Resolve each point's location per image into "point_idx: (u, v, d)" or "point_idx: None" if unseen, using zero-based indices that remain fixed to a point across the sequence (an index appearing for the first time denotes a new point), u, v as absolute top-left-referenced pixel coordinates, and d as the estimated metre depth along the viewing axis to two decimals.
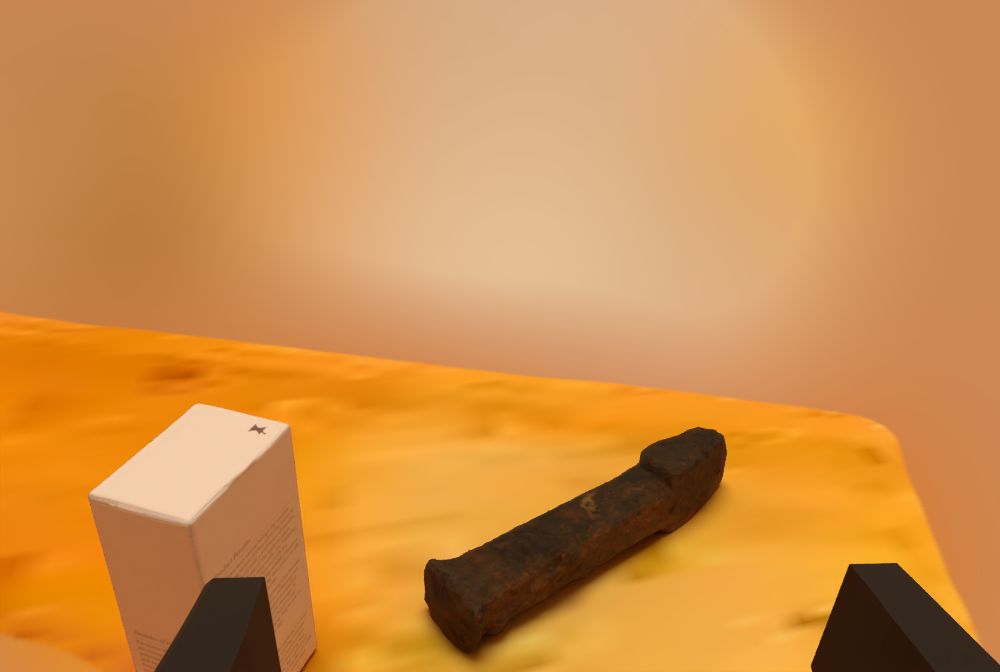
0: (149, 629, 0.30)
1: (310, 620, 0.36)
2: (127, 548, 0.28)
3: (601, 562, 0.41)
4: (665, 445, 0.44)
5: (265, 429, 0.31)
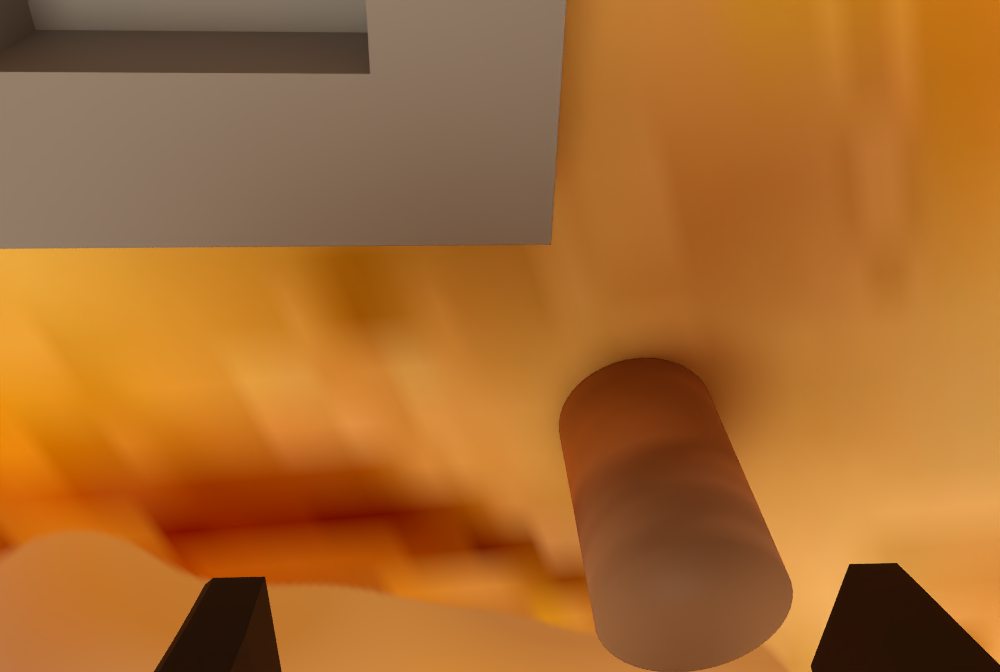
0: None
1: None
2: None
3: None
4: None
5: None
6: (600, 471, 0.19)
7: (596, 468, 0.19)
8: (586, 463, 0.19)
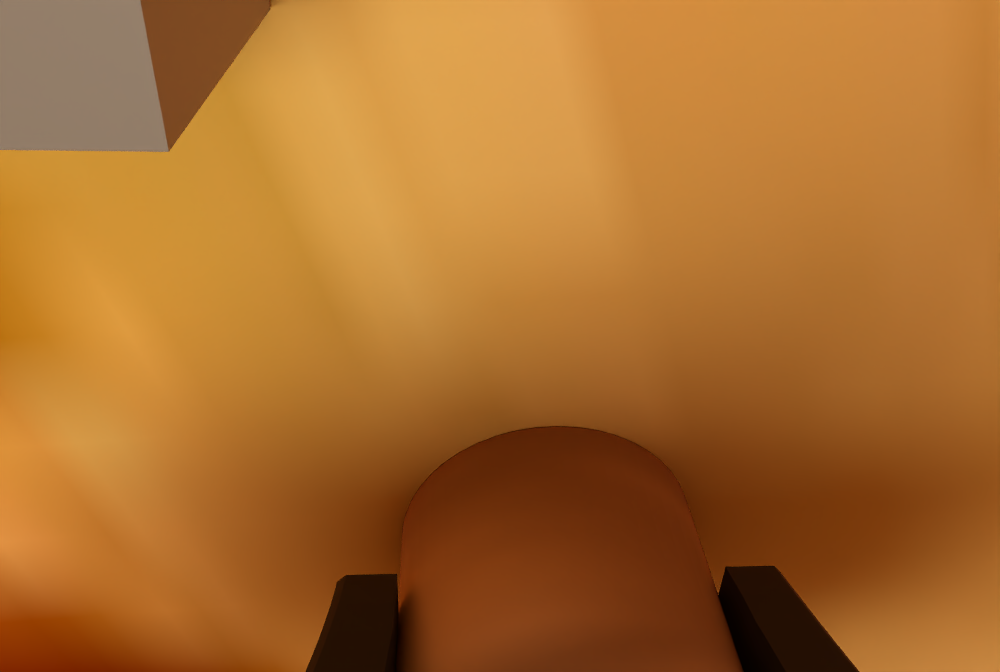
0: None
1: None
2: None
3: None
4: None
5: None
6: None
7: None
8: (412, 660, 0.09)
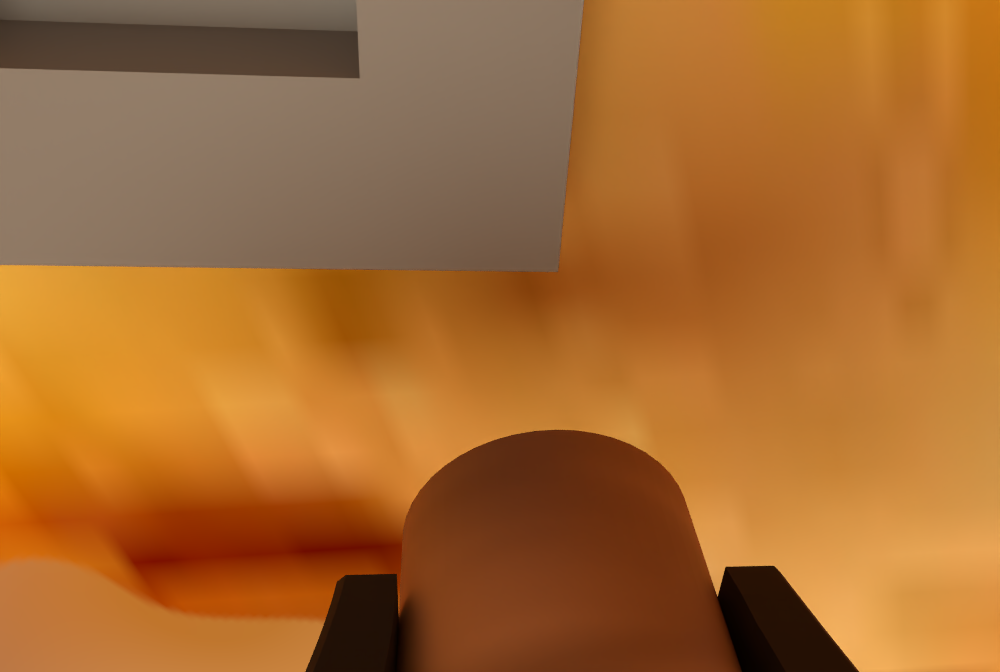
0: None
1: None
2: None
3: None
4: None
5: None
6: None
7: None
8: (412, 663, 0.09)
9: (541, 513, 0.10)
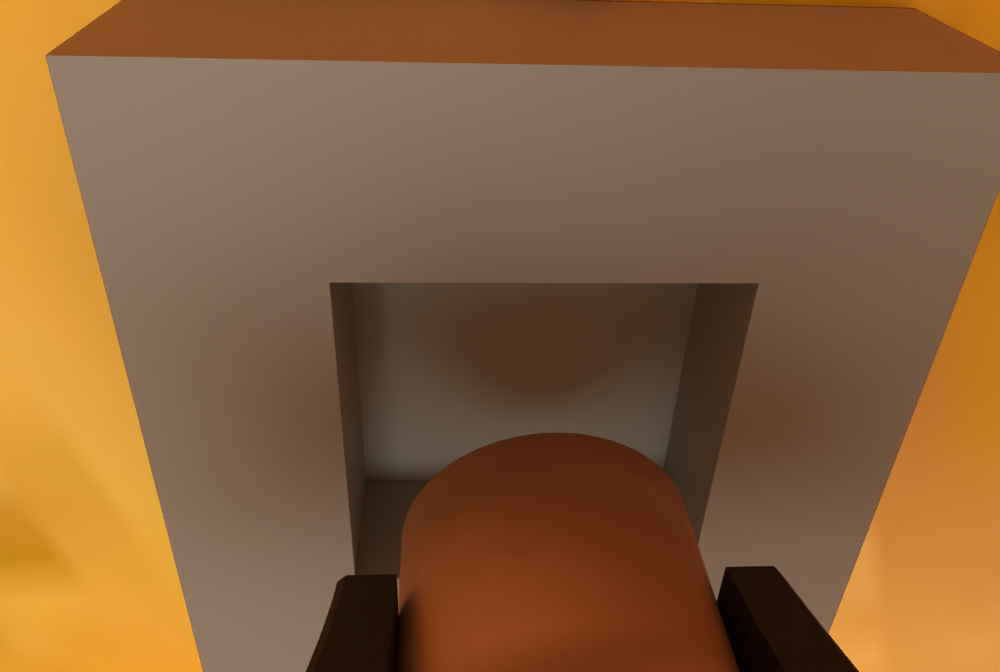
0: None
1: None
2: None
3: None
4: None
5: None
6: None
7: None
8: (411, 667, 0.09)
9: (538, 516, 0.10)
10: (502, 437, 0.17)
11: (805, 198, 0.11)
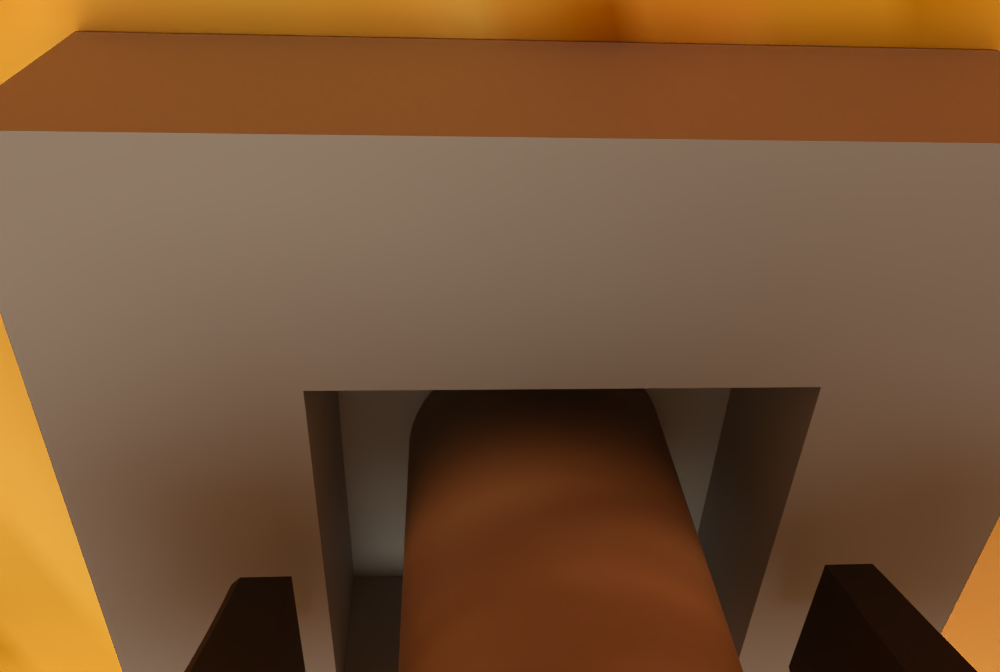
0: None
1: None
2: None
3: None
4: None
5: None
6: (434, 551, 0.10)
7: (429, 544, 0.10)
8: (418, 530, 0.11)
9: (527, 407, 0.11)
10: None
11: (883, 291, 0.09)
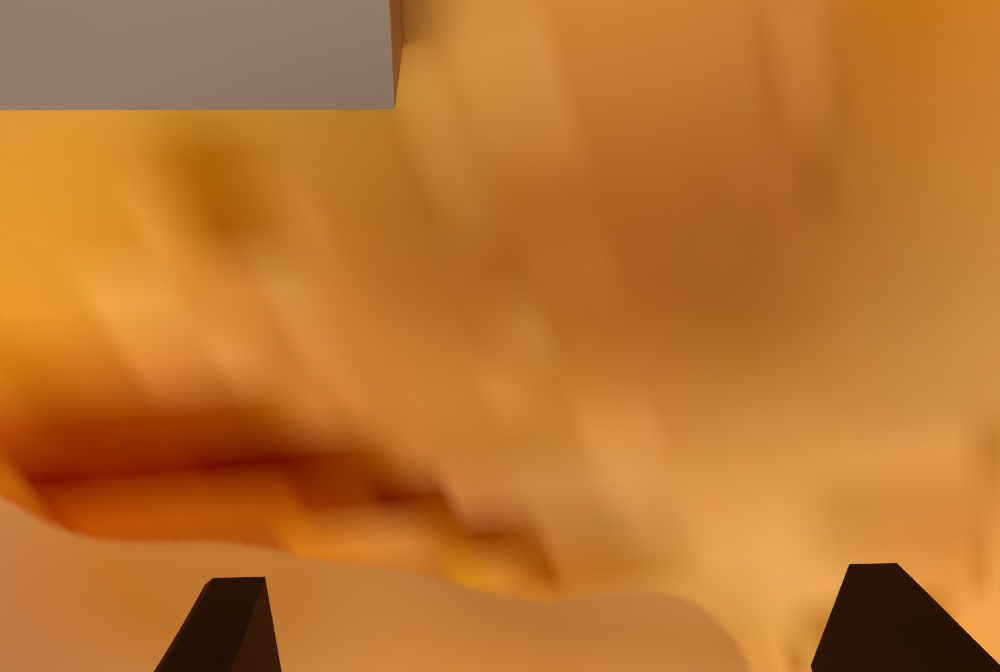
0: None
1: None
2: None
3: None
4: None
5: None
6: None
7: None
8: None
9: None
10: None
11: None
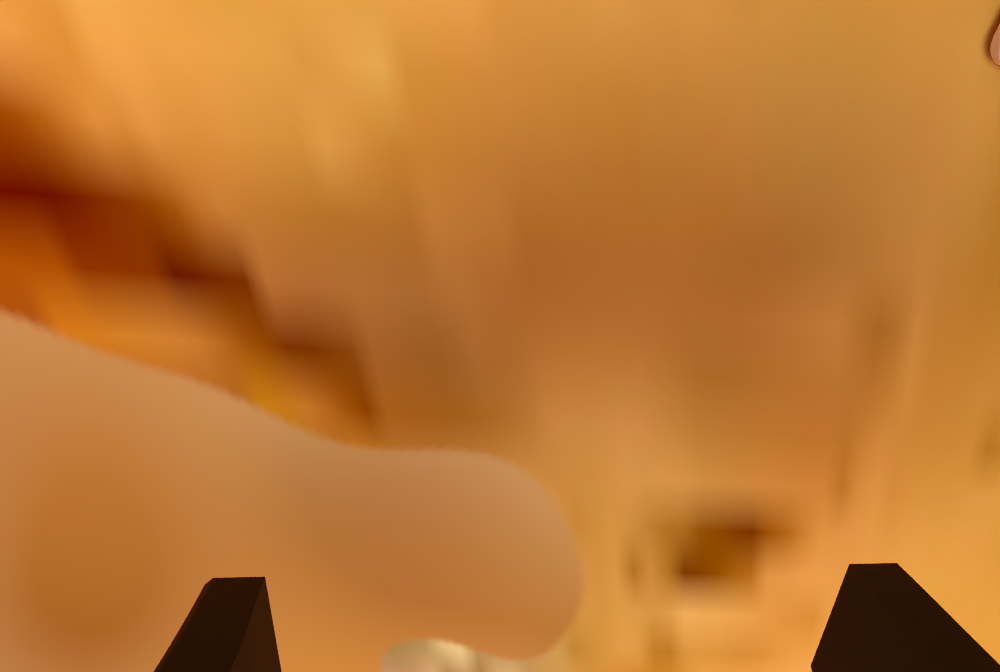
0: None
1: None
2: None
3: None
4: None
5: None
6: None
7: None
8: None
9: None
10: None
11: None
